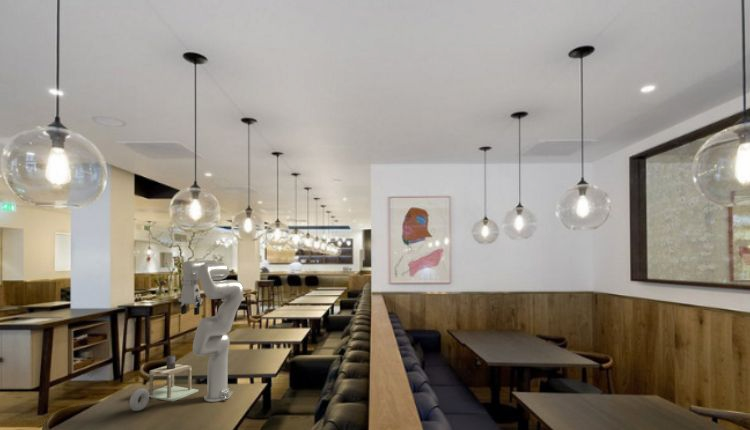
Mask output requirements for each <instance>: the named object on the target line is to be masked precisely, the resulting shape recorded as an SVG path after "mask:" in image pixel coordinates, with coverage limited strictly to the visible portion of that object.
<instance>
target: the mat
mask: <svg viewBox="0 0 750 430" xmlns="http://www.w3.org/2000/svg"><path fill="white" fill-rule="evenodd" d="M198 392H199V389H196V388H192V389H191V390H188V387H183V386H177V385H174V387H171V398H167V385H165V386H163V387H159V388H157V389H153V395H150V397H151V399H154V400H162V401H168V402H172V403H173V402H176V401H177V400H180V399H182V398H185V397H188V396H190V395H192V394H193V395H194V394H195V393H198Z"/></svg>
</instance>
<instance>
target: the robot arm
mask: <svg viewBox="0 0 750 430" xmlns="http://www.w3.org/2000/svg"><path fill="white" fill-rule="evenodd" d="M182 265H183V267H182V270H183V272H182V273H183V274H182V276H183V277H182V278H183V279H182V289H181V295H180V296H181V297H179V298H178V299H177V300H178V302H179V306H180V308H181V309H180V311H181V312H180V315H185V314H187V313H188V311H187V309H188V307H187V305H193V306H194V307H193V315H194V316H197V315H200V307H201V306H202V303H203V300H204V299H203V298H202V297H201V289H200V285H201V288H202V290H203V292H204V295H205V297H206V298H207V299H210V300H217V299H225V298H226V299H225V300H223V302H221V304H220V305H219V307H218V309H217V312H216V315H213V316H207V317H204V318H202V319H200V321H199V322H198V325H197V327H196V331H195V334H194V338H193V341H192V352H193V355H195V356H197V357H202V356H207V355H208V356H209V355H210V356H209V358H208V361H207V367H206V368H207V373H206V374H207V375H206V377H207V382H206V383H207V384H206V386H207V387H206V388H207V389H206V392H207V393H206V394H205V395H204V396H203V400H204V401H205V402H209V403H210V402H211V403H212V402H213V403H215V402H221V401H226V400H228V399H229V398H231V396H232V395H233V394H234V393H233V391H232V390H230V387H228V382H229V381H228V377H229V376H228V372H229V371H228V370H229V369H228V367H229V366H228V365H229V364H228V363H229V360H228V358H229V350H230V344H231V338H230V336H229V335H228V333H229V332H230V331H231V330H232V328H233V325H234V321H235V317H236V313H237V311H238V309H239V307H240V305H241V303H242V301H243V297H244V285H243V283H242V282H240V281H239V280H235V279H227V277H229V273H230V269H229V266H227V264H225V263H221V262H217V261H216V260H210V259H209V260H208V259H206V260H205V259H204V260H203V259H202V260H186V261H184V262H183V264H182ZM224 279H225V280H224ZM199 283H200V285H199Z"/></svg>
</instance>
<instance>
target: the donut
mask: <svg viewBox="0 0 750 430" xmlns="http://www.w3.org/2000/svg"><path fill="white" fill-rule="evenodd" d="M140 397H141V399H140V401H139V398H140ZM149 397H150V395H149V390H148V389H147V388H146V387H145V388H144V387H140V388H138V389H136V390H134V392H132V394H131V396H130V398H129V407H130V409H131V410H132V411H134V412H140V411H142V410H143V409H145V408H146V407H147V405H148V404H149V400H150V398H149Z"/></svg>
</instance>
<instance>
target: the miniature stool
mask: <svg viewBox="0 0 750 430" xmlns="http://www.w3.org/2000/svg"><path fill="white" fill-rule="evenodd" d="M192 367H193V366H192V365H185V364H180V363H179V364H177V363H176V355H167V356H166V365H164V366H161V367H158V368H154V369H151V370H149V380H148V381H149V382H148V383H149V384H148V386H149V387H148V388H149V390H148V392H149V395H153V390H154V374H157V375H162V376H167V377H166V378H167V379H166V384H167V385H166V386H167V398H171V387H174V386H175V374H177V373H180V372H184V371H186V370H188V371H187V388H188V390H191V389H193V388H192V387H193V386H192V384H193V383H192V382H193V380H192V377H193V375H192V373H193V372H192V371H193V370H192Z"/></svg>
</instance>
